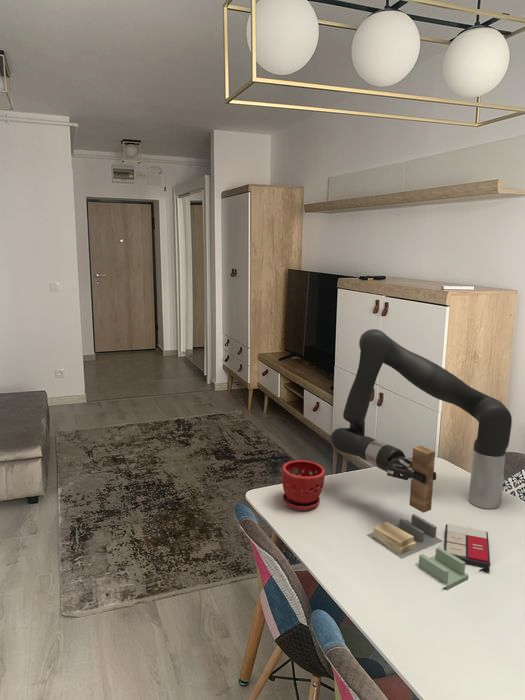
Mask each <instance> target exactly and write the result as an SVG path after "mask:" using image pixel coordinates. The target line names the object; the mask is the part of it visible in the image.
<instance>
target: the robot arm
mask: <svg viewBox="0 0 525 700" xmlns="http://www.w3.org/2000/svg"><path fill="white" fill-rule="evenodd" d="M358 345H359V349H360V350H359V351H360V353H359V363H358V368H357V371H356V374H355V377H354V380H353V383H352V385H351V388H350V390H349V393H348V396H347V399H346V403H345V405H344V409H343V413H342V417H343V419H344V420H345V421H346V422H348V423H349V427H339V428H336V429H334V430H333V432H332V433H331V435H330V441H331V445H332V446H333V447H334V448H335V449H336V450H337V451H338V452H339V451H340V452H342V453H345V454H347V455H351V456H355V457H359V458H360V459H362V460H364V461H366V462H367V463H370V464H371V465H372V466H374V467H376V468H378V469H380V470H381V471H383V472H386V476H387V477H392V478H395V479H400V480H403V481H408V480H409V479H410V480H411V479H415V480H418V481H419V482H422V483H424V484H425V483H427V476H426V475H424V474H422V473H420V472H418V471H415V470H414V469H412V457H408V456H406V455H405V453H404V451H403V450H402V449H400V448H397V447H395V446H393V445H391V444H388V443H387V442H384V441H380V440H378V439H375V438H373V437H371V436H367V435H366V434H365V432H366V430H365V429H366V427H365V426H366V417H367V413H368V410H369V406H370V403H371V398H372V396H373V392H374V391H373V390H374V387H375V384H376V381H377V378H378V376H379V373H380V370H381V367H382V366H383V364H384V365H386V366H388V367H390V368H392V369H393V370H395V371H396V372H398V374H400V375H401V376H402V377H403V378H405V379H406V380H407V381H408V382H409V383H410V384H412V385H413V386H415V387H416V388H418V389H419V390H421V391H422V392H424V393H425V394H427V395H429V396H431V397H433V398H435V399H437V400H440V401H442V402H445V403H449V404H451V405H454V406H456V407H458V408H460V409H462V411H465V412H466V413H467V414H468V415H470V416H472V417H473V418H474V419H475V420H476V421H477V422H478V427H477V436H476V439H475V440H474V441H473V452H472V460H471V461H472V462H471V463H472V464H471V472H470V479H469V489H468V499H467V500H468V501H469V503H470V504H472V505H473V506H475V507H477V508H481V509H487V510H490V509H491V510H494V509H497V508H499V507H500V504H501V503H502V500H503V499H502V498H503V489H504V480H505V474H504V469H505V461H506V452H507V449H508V448H509V444H510V437H511V431H512V424H513V423H512V422H513V421H512V420H513V419H512V417H513V416H512V415H511V414H512V413H511V411H510V410H509V409H508V407H506V405H505V404H504V403H503V402H502V401H500V400H499V399H496V398H495V397H492V396H489V395H487V394H485V393H483V392H481V391H479V390H477V389H475V388H474V387H471V386H470V385H468V384H467V383H466V382H464V381H463V380H462V379H461V378H459V377H458V376H456V375H454V374H453V373H451V372H450V371H449V370H447V369H446V368H444V367H442V366H440V365H438V364H437V363H435V362H434V361H431V360H430V359H428V358H426V357H424V356H421V355H419V354H417V353H415V352H413V351H411V350H409V349H407V348H405V347H404V346H402V345H401V344H399V343H397V342H396V341H395V340H394V339H392V338H391V337H389V336H388V335H387V334H386V333H385V332H383V331H382V330H380V329H378V328H377V329H375V328H374V329H373V328H371V329H368V330H366V331H364V332H363V333H362V334H361V335H360V338H359V341H358ZM436 480H437V472H436V471H434V473H433V481H436Z"/></svg>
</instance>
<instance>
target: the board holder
mask: <svg viewBox="0 0 525 700" xmlns="http://www.w3.org/2000/svg"><path fill="white" fill-rule="evenodd" d="M465 563H466V562H464V561H462V560H461V559H459V558H457V557H456V556H454V555H452V554H451V553H449V552H447V551H446V550H444V548H443V547H441V546H437V547H436V548H435V555H432V556H430V557H428V556H427V555H425V554H424V553H421V554H419V555H418V562H417V563H416V564H414V565H415V566H416V567H417V568H419V569H420V570H422V571H423V572H425V573H427V574H428V575H429V576H431V577H433V579H436V580H437V581H439V582H440V583H442V584H443V585H445V586H444V587H443V589H444V590H445V591H448V590H450V589H452V588H454V587H457V586H458V585H460V584H462V583H464V582H466V581H468V580H469V574H468V573H466V572H465V571H466V564H465Z"/></svg>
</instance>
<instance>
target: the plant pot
mask: <svg viewBox="0 0 525 700" xmlns="http://www.w3.org/2000/svg"><path fill="white" fill-rule="evenodd" d="M293 469H297V472H295V473H293ZM303 471H304V472H303ZM310 472H311V473H312V474H310ZM325 474H326V470H325V468H324V467H323V466H322V465H321V464H319V463H316V462H313V461H309V460H303V459H302V460H299V459H297V460H291V461H288V462H286V463H284V464H283V466H282V469H281V479H282V480H281V482H282V488H283V492H284V494H282V501H283V503H284V504H285V505H286V506H287V507H289V508H291V509H294V510H298V511H308V510H309V511H310V510H312V509H315V508H316V507H318V505H319V504H320V501H321V498H320V495H321V493H322V491H323V489H324V484H325V477H326V476H325Z"/></svg>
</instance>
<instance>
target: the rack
mask: <svg viewBox="0 0 525 700" xmlns="http://www.w3.org/2000/svg"><path fill="white" fill-rule="evenodd" d="M393 525H394V526H396V527H398V528H399V529H401V530H403V531H405V532H407V533H409V534H410V535H412V536H414V542H416V548H414V549H412V550H410V551H407V552H405V553H402V554H398V553H397V552H395V551H394V550H392V549H391V548H389V547H388V546H386V545H385V544H383V543H382V542H380V541H379V540H377V539H376V538H374V537H373V532H371V533H368V534H366V536H367V537H368V538H370V539H371V540H373V541H374V542H376V543H377V544H378V545H381V547H383V548H385V549H386V550H388V551H389V552H390V553H392V554H393V555H394V556H397V557H398V558H400V559H405V558H407V557H409V556H412V555H413V554H416V553H418V552H420V551H421V552H422V551H423V550H426V549H428V548H429V547H433V546H435V545H437V544H439V543H442V542H443V540H442V539H440V538H439V537H437V526H436V525H434V524H432V523H431V522H429V521H427V520H425V519H424V518H422V517H420V516H419V515H417V514H415V513H413V514H411V520H408V519H406V520H405V519H404V518H400V519H399V520H398V522H397V523H395V524H393Z"/></svg>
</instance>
